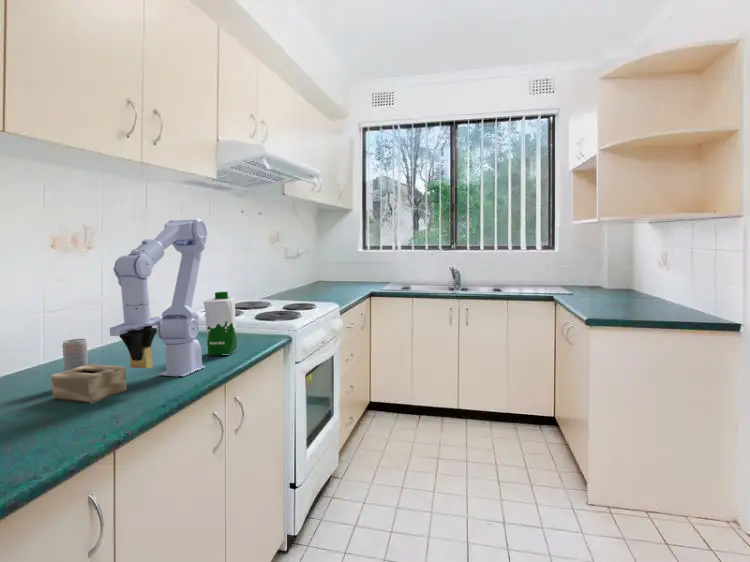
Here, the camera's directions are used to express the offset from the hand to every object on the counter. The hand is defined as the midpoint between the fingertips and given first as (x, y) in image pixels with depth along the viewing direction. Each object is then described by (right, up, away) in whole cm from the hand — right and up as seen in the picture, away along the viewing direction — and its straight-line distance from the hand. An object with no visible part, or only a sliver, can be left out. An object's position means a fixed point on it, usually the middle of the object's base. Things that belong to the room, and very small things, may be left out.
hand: (140, 358), depth 114 cm
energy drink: (-20, -8, +7) cm, 23 cm away
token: (0, -2, 0) cm, 2 cm away
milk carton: (+8, -5, +38) cm, 39 cm away
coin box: (-12, -9, -1) cm, 15 cm away
